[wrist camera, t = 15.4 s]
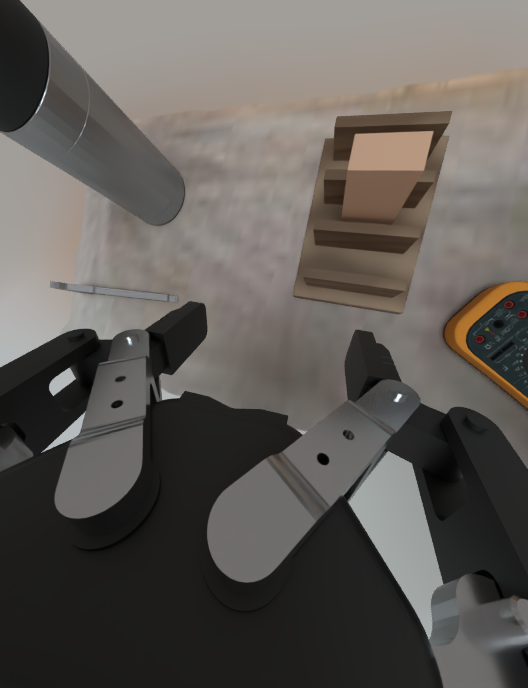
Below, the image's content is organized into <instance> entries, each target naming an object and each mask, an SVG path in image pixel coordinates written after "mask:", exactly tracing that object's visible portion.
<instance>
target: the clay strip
mask: <svg viewBox="0 0 528 688" xmlns="http://www.w3.org/2000/svg"><path fill="white" fill-rule="evenodd" d="M432 135H433V131H420V132H394V133H368V134H355V137H354V142H353V146H352V151H351V156H350V161H349V165H348V170H347V178H346V186H345V194H344V201H343V209H342V217H341V221H344V222H359V223H373V224H387V225H392V223H393V221H394V220H395V218H396V216H397V215H398V213H399V211H400V210H401V208H402V206H403V205H404V203H405V201H406V200H407V198H408V196H409V195H410V193H411V191H412V190H413V188H414V186H415V185H416V183H417V181H418V180H419V178H420V176H421V175H422V173H423V171H424V168H425V164H426V160H427V156H428V152H429V148H430V144H431V140H432Z"/></svg>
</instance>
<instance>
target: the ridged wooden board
mask: <svg viewBox="0 0 528 688" xmlns="http://www.w3.org/2000/svg"><path fill="white" fill-rule="evenodd" d="M451 114H452V111H444V112H423V113H402V114H381V115H360V116H340V117H337V118H336V123H335V131H334V138H331V139H325V143H324V148H323V152H322V157H321V162H320V167H319V172H318V177H317V181H316V186H315V191H314V196H313V201H312V206H311V210H310V215H309V220H308V225H307V230H306V235H305V239H304V244H303V249H302V254H301V259H300V263H299V268H298V273H297V278H296V283H295V288H294V292H293V296H294V297H298V298H304V299H310V300H316V301H322V302H329V303H335V304H341V305H347V306H353V307H359V308H365V309H371V310H378V311H384V312H390V313H396V314H401V313H403V311H404V307H405V303H406V300H407V296H408V292H409V288H410V284H411V281H412V277H413V273H414V269H415V265H416V261H417V258H418V254H419V250H420V246H421V242H422V239H423V235H424V231H425V227H426V223H427V220H428V216H429V212H430V208H431V204H432V200H433V197H434V193H435V189H436V185H437V181H438V178H439V174H440V170H441V166H442V162H443V159H444V155H445V151H446V147H447V143H448V140H449V136H442V134H443V133H444V131H445V129H446V128H447V126H448V124H449V121H450V118H451ZM420 131H433V135H432V140H431V144H430V148H429V152H428V156H427V160H426V164H425V168H424V171H423V173H422V175H421V176H420V178H419V180H418V181H417V183H416V185H415V186H414V188H413V190H412V191H411V193H410V195H409V196H408V198H407V200H406V201H405V203H404V205H403V206H402V208H401V210H400V211H399V213H398V215H397V216H396V218H395V220H394V221H393V223H392V225H387V224H373V223H359V222H344V221H341V217H342V209H343V201H344V194H345V186H346V178H347V170H348V165H349V161H350V156H351V151H352V146H353V142H354V137H355V134H368V133H394V132H420Z"/></svg>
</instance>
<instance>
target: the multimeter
mask: <svg viewBox="0 0 528 688" xmlns="http://www.w3.org/2000/svg"><path fill="white" fill-rule="evenodd" d="M445 339H446V342H447V344H448V345H449V346H450V347H451V348H452V349H453V350H454V351H456V352H457V353H458V354H459V355H461V356H462V357H463V358H465V359H466V360H467V361H469V362H470V363H471V364H472V365H474V366H475V367H476V368H478V369H479V370H480V371H481V372H483V373H484V374H485V375H487V376H488V377H489V378H491V379H492V380H493V381H494V382H496V383H497V384H498V385H499V386H500V387H502V388H503V389H504V390H505V391H506V392H508V393H509V394H510V395H511V396H513V397H514V398H515V399H516V400H517V401H519V402H520V403H521V404H522V405H523V406H525V407H526V408H527V409H528V282H522V281H514V282H507V283H504V284H500V285H496V286H493V287H491V288H488V289H486V290H485V291H483V292H482V293H480V294H479V295H478V296H477V297H475V298H474V299H473V300H472V301H471V302H470V303H469V304H468V305H466V306H465V307H464V308H463V309H462V310H461V311H460V312H458V313H457V314H456V315H455V316H454V317H453V318H452V319H451V320H450V321H449V322H448V324H447V326H446V328H445Z"/></svg>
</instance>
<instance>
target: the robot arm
mask: <svg viewBox="0 0 528 688" xmlns="http://www.w3.org/2000/svg"><path fill="white" fill-rule="evenodd" d="M0 132H1V133H2V134H4V135H6V136H7V137H9V138H11V139H12V140H14V141H16V142H17V143H19V144H20V145H22V146H24V147H25V148H27V149H28V150H30V151H32V152H33V153H35V154H37V155H38V156H40V157H42V158H43V159H45V160H47V161H48V162H50V163H52V164H53V165H55V166H56V167H58V168H60V169H61V170H63V171H65V172H66V173H68V174H69V175H71V176H73V177H74V178H76V179H78V180H79V181H81V182H82V183H84V184H86V185H87V186H89V187H90V188H92V189H94V190H95V191H97V192H99V193H100V194H102V195H103V196H105V197H107V198H108V199H110V200H112V201H113V202H115V203H116V204H118V205H120V206H121V207H123V208H125V209H126V210H128V211H129V212H131V213H133V214H134V215H136V216H138V217H139V218H141V219H142V220H144V221H146V222H147V223H150V224H152V225H162V224H165V223H167V222H169V221H170V220H172V219H173V218H174V217H175V216H176V214H177V213H178V211H179V210H180V208H181V205H182V203H183V199H184V183H183V180H182V177H181V175H180V174H179V172H178V171H177V170H176V169H175V168H174V167H173V166H172V165H171V163H170V162H169V161H168V160H167V159H166V158H165V157H164V156H163V155H162V154H161V153H160V151H159V150H158V149H157V148H156V147H155V146H154V145H153V144H152V143H151V142H150V140H149V139H148V138H147V137H146V136H145V135H144V134H143V133H142V132H141V131H140V130H139V129H138V127H137V126H136V125H135V124H134V123H133V122H132V121H131V120H130V119H129V118H128V117H127V116H126V114H125V113H123V111H122V110H121V109H120V108H119V107H118V106H117V105H116V104H115V103H114V101H113V100H112V99H111V98H110V97H109V96H108V95H107V94H106V93H105V92H104V91H103V90H102V89H101V87H100V86H99V85H98V84H97V83H96V82H95V81H94V80H93V79H92V78H91V77H90V76H89V74H88V73H87V72H86V71H85V70H84V69H83V68H82V67H81V66H80V65H79V64H78V63H77V62H76V61H75V60H74V58H73V57H72V56H71V55H70V54H69V53H68V52H67V51H66V50H65V49H64V48H63V47H62V46H61V44H60V43H59V42H58V41H57V40H56V39H55V38H54V37H53V36H52V35H51V34H50V32H49V31H48V30H47V29H46V28H45V27H44V26H43V25H42V24H41V23H40V22H39V21H38V20H37V19H36V17H35V16H34V15H33V14H32V13H31V12H30V11H29V10H28V9H27V8H26V7H25V6H24V4H22V2H21V1H20V0H0ZM206 335H207V317H206V307H205V305H204V304H203V303H198V302H192V301H189V302H188V303H187V304H185V305H184V306H182V307H181V308H179V309H176V310H174V311H171V312H170V313H168V314H167V315H165V317H162V318H161V319H160V320H158V321H157V322H155V323H154V324H152V325H151V326H150V327H148V328H147V329H145V330H140V329H134V330H127V331H124V332H121V333H119V334H117V335H116V336H115V337H114V338H113V340H99V339H98V336H97V334H96V332H95V331H94V330H92V329H77V330H73V331H69V332H66V333H64V334H62V335H60V336H58V337H56V338H54V339H53V340H51V341H49V342H47V343H45V344H43V345H41V346H40V347H38V348H36V349H34V350H32V351H30V352H28V353H26V354H25V355H23V356H21V357H19V358H17V359H15V360H13V361H12V362H10V363H8V364H6V365H4V366H2V367H0V688H528V469H527V468H526V466H525V465H524V463H523V462H522V460H521V459H520V457H519V456H518V455H517V453H516V452H515V450H514V449H513V447H512V446H511V444H510V443H509V442H508V440H507V439H506V437H505V436H504V434H503V433H502V431H501V430H500V429H499V428H498V426H497V425H496V424H494V423H493V422H492V421H491V420H489V419H488V418H487V417H485V416H483V415H482V414H480V413H478V412H476V411H474V410H471V409H468V408H464V407H453V408H451V409H450V410H449V412H448V413H447V414H445V413H442V412H440V411H437V410H435V409H433V408H430V407H428V406H426V405H423V404H422V403H421V400H420V397H419V395H418V394H417V393H416V391H414V390H413V389H412V388H411V387H409V386H408V385H406V384H404V383H402V382H401V379H400V377H399V374H398V372H397V369H396V367H395V365H394V362H393V360H392V357H391V355H390V352H389V351H388V350H387V349H386V348H385V347H384V346H383V345H382V344H379V343H376V341H375V338H374V335H373V333H372V332H367V331H362V330H355V332H354V334H353V337H352V340H351V343H350V346H349V349H348V352H347V355H346V359H345V376H346V386H347V396H348V400H347V401H346V402H345V403H343V404H342V405H341V406H339V407H338V408H337V409H336V410H334V411H333V412H332V413H331V414H329V415H328V416H327V417H326V418H324V419H323V420H322V421H320V422H319V423H318V424H317V425H315V426H314V427H313V428H312V429H310V430H309V431H308V432H307V433H305V434H304V435H302V434H301V433H300V432H298V431H297V430H296V429H294V428H293V427H291V426H289V425H287V420H288V416H287V415H283V414H279V413H274V412H270V411H266V410H262V409H234V408H230V407H228V406H226V405H224V404H222V403H220V402H218V401H216V400H214V399H212V398H210V397H208V396H204V395H200V394H196V393H191V392H187V391H185V392H184V393H183V394H182V396H181V397H180V398H177V399H167V400H162V393H161V380H160V376H159V375H160V374H161V373H165V374H169V375H173V374H174V373H175V371H176V370H177V369H178V368H179V367H180V366H181V365H182V364H183V363H184V361H185V360H186V359H187V358H188V357H189V356H190V355H191V354H192V353H193V351H194V350H195V349H196V348H197V347H198V346H199V345H200V344H201V343H202V341H203V340H204V339H205V338H206ZM69 367H70V368H71V370H72V372H73V374H74V376H75V378H76V379H75V380H74V381H73V382H72V383H70V384H69V385H67V386H66V387H65V388H63V389H62V390H61V391H60V392H58V393H57V394H56V395H54V396H53V395H52V394H51V393H50V391H49V384H50V382H51V381H52V379H53V378H55V377H56V376H58V375H59V374H60V373H62V372H63V371H65V370H66V369H68V368H69ZM85 411H86V413H85V417H84V420H83V424H82V428H81V432H80V434H79V435H78V436H77V437H75V438H74V439H71V440H69V441H67V442H65V443H63V444H60V445H58V446H56V447H53V448H52V449H49V450H47V451H45V452H42V451H43V450H45V449H46V448H47V447H48V446H49V445H50V444H51V443H52V442H53V441H54V440H55V439H56V438H57V437H59V436H60V435H61V434H62V433H63V432H64V431H65V430H66V429H67V428H68V427H69V426H70V425H71V424H72V423H74V421H76V420H77V419H78V418H79V417H80V416H81V415H82V414H83V413H84V412H85ZM388 451H390V452H391V453H393V454H395V455H397V456H399V457H401V458H403V459H405V460H407V461H409V462H411V463H412V465H413V469H414V472H415V476H416V480H417V484H418V488H419V492H420V496H421V499H422V503H423V507H424V511H425V515H426V519H427V522H428V526H429V530H430V533H431V538H432V542H433V545H434V549H435V553H436V557H437V561H438V564H439V569H440V572H441V576H442V580H443V584H444V585H441V586H440V587H438V588H437V589H436V590H435V591H434V593H433V595H432V599H431V610H432V621H433V625H432V633H431V637H430V639H428V637H427V635H426V632H425V630H424V628H423V626H422V624H421V622H420V620H419V618H418V616H417V614H416V612H415V610H414V609H413V607H412V605H411V604H410V602H409V600H408V599H407V597H406V595H405V594H404V592H403V591H402V589H401V587H400V586H399V584H398V583H397V581H396V579H395V578H394V576H393V574H392V573H391V571H390V570H389V568H388V566H387V565H386V563H385V562H384V560H383V558H382V557H381V555H380V553H379V552H378V550H377V549H376V547H375V545H374V544H373V542H372V541H371V539H370V537H369V536H368V534H367V532H366V531H365V529H364V528H363V526H362V524H361V523H360V521H359V519H358V518H357V516H356V515H355V513H354V512H353V510H352V508H351V506H350V505H349V503H348V502H349V501H350V500H351V498H352V497H353V496H354V494H355V493H356V492H357V490H358V489H359V488H360V486H361V485H362V483H363V482H364V481H365V480H366V478H367V477H368V476H369V475H370V473H371V472H372V471H373V469H374V468H375V467H376V466H377V465H378V463H379V462H380V461H381V460H382V458H383V457H384V456H385V455H386V453H387V452H388ZM41 452H42V453H41Z"/></svg>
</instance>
